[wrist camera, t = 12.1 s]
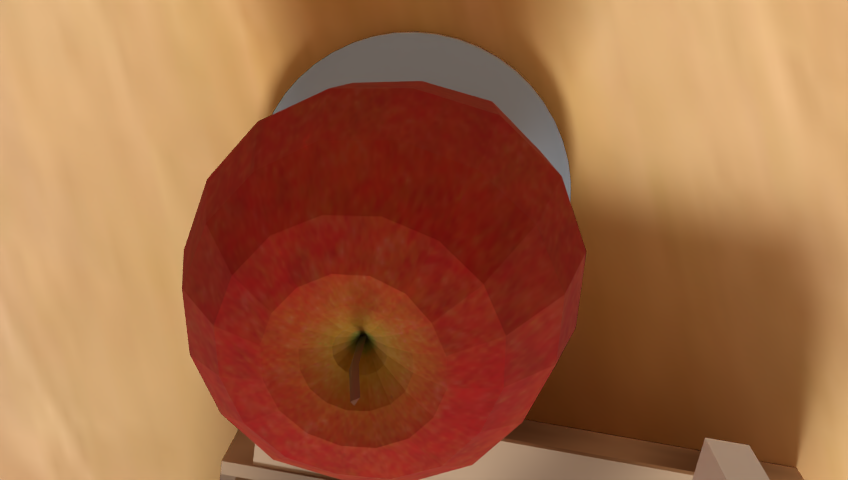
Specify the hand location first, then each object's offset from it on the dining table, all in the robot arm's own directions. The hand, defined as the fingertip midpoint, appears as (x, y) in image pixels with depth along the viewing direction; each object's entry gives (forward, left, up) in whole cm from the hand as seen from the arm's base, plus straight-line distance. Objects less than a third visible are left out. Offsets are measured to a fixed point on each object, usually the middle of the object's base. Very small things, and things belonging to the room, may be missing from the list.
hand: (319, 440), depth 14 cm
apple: (0, 0, -15) cm, 15 cm away
